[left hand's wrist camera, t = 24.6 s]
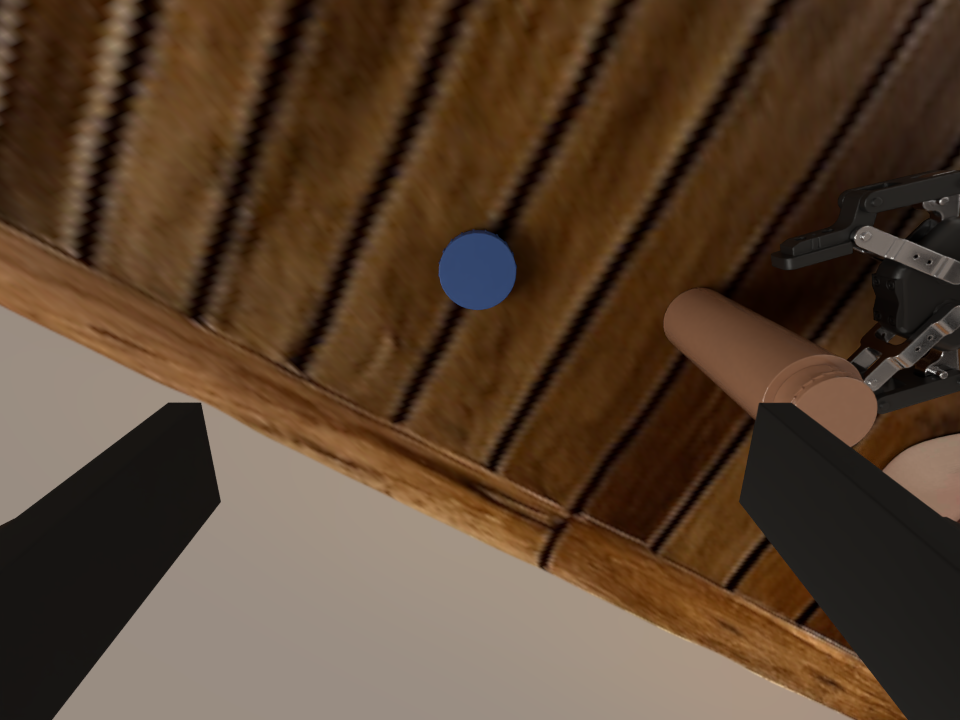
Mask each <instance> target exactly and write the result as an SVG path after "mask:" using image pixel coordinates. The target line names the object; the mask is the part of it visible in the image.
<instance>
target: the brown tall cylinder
mask: <svg viewBox="0 0 960 720" xmlns="http://www.w3.org/2000/svg"><path fill="white" fill-rule="evenodd" d="M664 331H665V334H666V336H667V338H668V340H669V341H670V342H671V343H672V344H673V345H674V346H675V347H676V348H677V349H678V350H679V351H680V352H681V353H683V354H684V355H685V356H686V357H687V358H688V359H689V360H690V361H691V362H692V363H693V364H695V365H696V366H697V367H698V368H699V369H700V370H701V371H702V372H703V373H704V374H705V375H706V376H708V377H709V378H710V379H711V380H712V381H713V382H714V383H715V384H716V385H717V386H718V387H720V388H721V389H722V390H723V391H724V392H725V393H726V394H727V395H728V396H729V397H730V398H732V399H733V400H734V401H735V402H736V403H737V404H738V405H739V406H740V407H741V408H742V409H743V410H745V411H746V412H747V413H748V414H749V415H750V416H751V417H752V418H753V419H754V420H756V415H757V410H758V405H759V403H793V404H794V405H795V406H797V407H798V408H799V409H801V410H802V411H803V412H805V413H806V414H807V415H809V416H810V417H811V418H813V419H814V420H815V421H816V422H818V423H819V424H820V425H822V426H823V427H824V428H826V429H827V430H828V431H830V432H831V433H832V434H834V435H835V436H836V437H838V438H839V439H840V440H842V441H843V442H844V443H846V444H847V445H848V446H850V447H852V446H853V445H855V444H856V443H858V442H859V441H860V440H861V439H862V438H863V437H864V436H865V435H866V434H867V433H868V432H869V430H870V429H871V427H872V425H873V424H874V421H875V419H876V415H877V400H876V397H875V394H874V393H873V391H872V389H871V388H870V387H869V386H868V385H867V384H866V383H864V380H862V377H861V375H860V373H859V371H858V370H857V369H856V368H855V366H854V365H852V364H851V363H850V362H849V361H847V360H845V359H843V358H841V357H840V356H838V355H836V354H834V353H832V352H830V351H828V350H826V349H824V348H822V347H821V346H819V345H817V344H815V343H813V342H811V341H809V340H807V339H805V338H803V337H802V336H800V335H798V334H796V333H794V332H792V331H790V330H788V329H786V328H784V327H783V326H781V325H779V324H777V323H775V322H773V321H771V320H769V319H767V318H765V317H764V316H762V315H760V314H758V313H756V312H754V311H752V310H750V309H748V308H746V307H745V306H743V305H741V304H739V303H737V302H735V301H733V300H731V299H729V298H727V297H726V296H724V295H722V294H720V293H718V292H716V291H714V290H711V289H708V288H695V289H691V290H688V291H686V292H684V293H682V294H680V295H679V296H678V297H676V298H675V299H674V300H673V301H672V303H671V304H670V305H669V307H668V309H667V311H666V313H665V317H664Z"/></svg>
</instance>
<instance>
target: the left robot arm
mask: <svg viewBox="0 0 960 720" xmlns="http://www.w3.org/2000/svg"><path fill="white" fill-rule="evenodd" d="M220 502H221V500H220V495H219V490H218V485H217V480H216V476H215V470H214V465H213V460H212V455H211V450H210V445H209V440H208V436H207V430H206V425H205V420H204V415H203V410H202V405H201V403H167V404H166V405H165V406H163V407H162V408H161V409H159V410H158V411H157V412H155V413H154V414H153V415H151V416H150V417H149V418H147V419H146V420H145V421H144V422H142V423H141V424H140V425H138V426H137V427H136V428H134V429H133V430H132V431H130V432H129V433H128V434H126V435H125V436H124V437H122V438H121V439H120V440H118V441H117V442H116V443H114V444H113V445H112V446H110V447H109V448H108V449H106V450H105V451H104V452H102V453H101V454H100V455H99V456H97V457H96V458H95V459H93V460H92V461H91V462H89V463H88V464H87V465H85V466H84V467H83V468H81V469H80V470H79V471H77V472H76V473H75V474H73V475H72V476H71V477H69V478H68V479H67V480H65V481H64V482H63V483H61V484H60V485H59V486H57V487H56V488H55V489H53V490H52V491H51V492H50V493H48V494H47V495H46V496H44V497H43V498H42V499H40V500H39V501H38V502H36V503H35V504H34V505H32V506H31V507H30V508H28V509H27V510H26V511H24V512H23V513H22V514H20V515H19V516H18V517H16V518H15V519H13V520H11V521H9V522H7V523H5V524H3V525H1V526H0V720H52V719H53V718H54V717H55V715H56V714H57V713H58V711H59V710H60V709H61V707H62V706H63V705H64V704H65V702H66V701H67V700H68V698H69V697H70V696H71V695H72V693H73V692H74V691H75V689H76V688H77V687H78V686H79V684H80V683H81V682H82V680H83V679H84V678H85V677H86V675H87V674H88V673H89V671H90V670H91V669H92V668H93V666H94V665H95V664H96V662H97V661H98V660H99V658H100V657H101V656H102V655H103V653H104V652H105V651H106V649H107V648H108V647H109V646H110V644H111V643H112V642H113V640H114V639H115V638H116V636H117V635H118V634H119V633H120V631H121V630H122V629H123V627H124V626H125V625H126V624H127V622H128V621H129V620H130V618H131V617H132V616H133V615H134V613H135V612H136V611H137V609H138V608H139V607H140V606H141V604H142V603H143V602H144V600H145V599H146V598H147V596H148V595H149V594H150V593H151V591H152V590H153V589H154V587H155V586H156V585H157V584H158V582H159V581H160V580H161V578H162V577H163V576H164V575H165V573H166V572H167V571H168V569H169V568H170V567H171V566H172V564H173V563H174V562H175V560H176V559H177V558H178V557H179V555H180V554H181V553H182V551H183V550H184V549H185V547H186V546H187V545H188V544H189V542H190V541H191V540H192V538H193V537H194V536H195V534H196V533H197V532H198V531H199V529H200V528H201V527H202V525H203V524H204V523H205V522H206V520H207V519H208V518H209V517H210V515H211V514H212V513H213V511H214V510H215V509H216V507H217V506H218V505H219V504H220ZM739 502H740V504H741V505H742V506H743V507H744V509H745V510H746V511H747V513H748V514H749V515H750V517H751V518H752V519H753V520H754V522H755V523H756V524H757V526H758V527H759V528H760V529H761V531H762V532H763V533H764V535H765V536H766V537H767V538H768V540H769V541H770V542H771V544H772V545H773V546H774V547H775V549H776V550H777V551H778V553H779V554H780V555H781V557H782V558H783V559H784V560H785V562H786V563H787V564H788V566H789V567H790V568H791V569H792V571H793V572H794V573H795V575H796V576H797V577H798V578H799V580H800V581H801V582H802V584H803V585H804V586H805V587H806V589H807V590H808V591H809V593H810V594H811V595H812V597H813V598H814V599H815V600H816V602H817V603H818V604H819V606H820V607H821V608H822V609H823V611H824V612H825V613H826V615H827V616H828V617H829V618H830V620H831V621H832V622H833V624H834V625H835V626H836V628H837V629H838V630H839V631H840V633H841V634H842V635H843V637H844V638H845V639H846V640H847V642H848V643H849V644H850V646H851V647H852V648H853V649H854V651H855V652H856V653H857V655H858V656H859V657H860V658H861V660H862V661H863V662H864V664H865V665H866V666H867V668H868V669H869V670H870V671H871V673H872V674H873V675H874V677H875V678H876V679H877V680H878V682H879V683H880V684H881V686H882V687H883V688H884V689H885V691H886V692H887V693H888V695H889V696H890V697H891V698H892V700H893V701H894V702H895V704H896V705H897V706H898V708H899V709H900V710H901V711H902V713H903V714H904V715H905V717H906V718H907V719H908V720H960V523H958V522H956V521H954V520H952V519H950V518H948V517H942V516H941V515H940V514H938V513H937V512H936V511H934V510H933V509H932V508H930V507H929V506H928V505H926V504H925V503H924V502H922V501H921V500H920V499H918V498H917V497H916V496H914V495H913V494H912V493H911V492H909V491H908V490H907V489H905V488H904V487H903V486H901V485H900V484H899V483H897V482H896V481H895V480H893V479H892V478H891V477H889V476H888V475H887V474H885V473H884V472H883V471H881V470H880V469H879V468H877V467H876V466H875V465H873V464H872V463H871V462H869V461H868V460H867V459H865V458H864V457H863V456H862V455H860V454H859V453H858V452H856V451H855V450H854V449H852V448H851V447H850V446H848V445H847V444H846V443H844V442H843V441H842V440H840V439H839V438H838V437H836V436H835V435H834V434H832V433H831V432H830V431H828V430H827V429H826V428H824V427H823V426H822V425H820V424H819V423H818V422H816V421H815V420H814V419H813V418H811V417H810V416H809V415H807V414H806V413H805V412H803V411H802V410H801V409H799V408H798V407H797V406H795V405H794V404H793V403H759V405H758V410H757V415H756V420H755V425H754V430H753V435H752V440H751V445H750V450H749V455H748V460H747V465H746V470H745V475H744V480H743V485H742V490H741V495H740V500H739Z"/></svg>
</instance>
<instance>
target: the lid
mask: <svg viewBox="0 0 960 720" xmlns="http://www.w3.org/2000/svg"><path fill="white" fill-rule="evenodd" d="M513 256H514V254H513V252H511V250H510V248H509V247H508V244H507V242H504V241H503V240H502V239H501V238H500V237H498V234H496V235H495V234H493V233H491V232H488V231H486V230H485V231H483V230H474V229H473V230H472V231H468V232H465V233H463V232H462V233H461V234H460V235H458V236H457V237H455V238H454V239H451V241H450V243H449V244H448V246H447V247H446V249H445V248H444V250H443V255H442V258H441V259H440V262H439V264H440V266H439V277H440V282H441V285H442V288H443V289H444V291H445V292H446V294H447V295H448V296H449V298H450V299H451V300H453V301H454V302H455V303H457V304H458V305H460V306H462V307H465V308H468V309H473V310H482V309H488V308H491V307H493V306H495V305H497V304H499V303H500V302H502V301H503V300H504V299H505V298H506V297H507V296H508V294H509V293H510V291H511V290H512V288H513V285H514V283H515V280H516V268H517V266H516V263H515V260H514V257H513Z"/></svg>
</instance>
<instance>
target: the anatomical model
mask: <svg viewBox="0 0 960 720" xmlns="http://www.w3.org/2000/svg"><path fill="white" fill-rule="evenodd" d="M883 472H884V473H885V474H887V475H888V476H889V477H891V478H892V479H893V480H895V481H896V482H897V483H899V484H900V485H901V486H903V487H904V488H905V489H907V490H908V491H909V492H911V493H912V494H913V495H914V496H916V497H917V498H918V499H920V500H921V501H922V502H924V503H925V504H926V505H928V506H929V507H930V508H932V509H933V510H934V511H936V512H937V513H938V514H940V515H941V516H942V517H948V518H950V519H952V520H954V521H956V522H958V523H960V434H954V435H949V436H944V437H939V438H935V439H932V440H928V441H925V442H922V443H919V444H917V445H914V446H912V447H910V448H908V449H906V450H905V451H903V452H901V453H900V454H899V455H898V456H896V457H895V458H894V459H893V460H892V461H891V462H890V463H889V464H888V465H887V466H886V467H885V468H884V470H883Z"/></svg>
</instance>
